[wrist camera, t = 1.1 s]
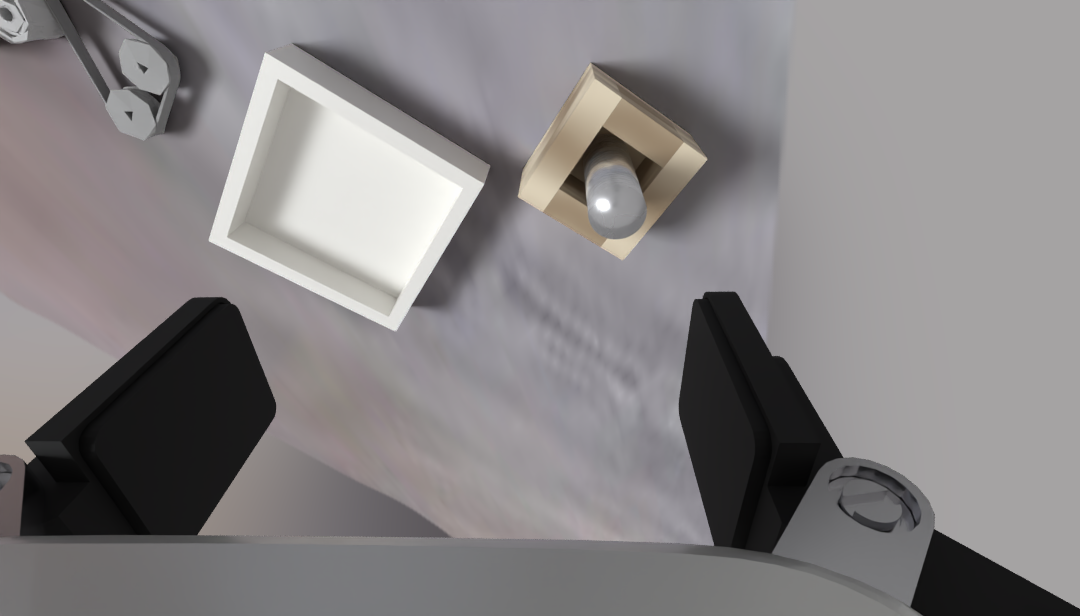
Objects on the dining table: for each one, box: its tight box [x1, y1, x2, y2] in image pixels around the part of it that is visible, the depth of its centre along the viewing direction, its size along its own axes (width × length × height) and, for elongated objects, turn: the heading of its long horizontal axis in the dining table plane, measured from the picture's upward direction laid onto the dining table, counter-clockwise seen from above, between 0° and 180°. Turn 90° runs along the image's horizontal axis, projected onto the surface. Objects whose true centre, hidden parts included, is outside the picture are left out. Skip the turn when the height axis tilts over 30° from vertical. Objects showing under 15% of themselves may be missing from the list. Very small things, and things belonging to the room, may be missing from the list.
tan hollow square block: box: [518, 63, 708, 260], centre depth 33 cm, size 8×8×5 cm
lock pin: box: [583, 134, 647, 239], centre depth 31 cm, size 3×3×9 cm
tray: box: [209, 44, 491, 332], centre depth 36 cm, size 14×14×4 cm
